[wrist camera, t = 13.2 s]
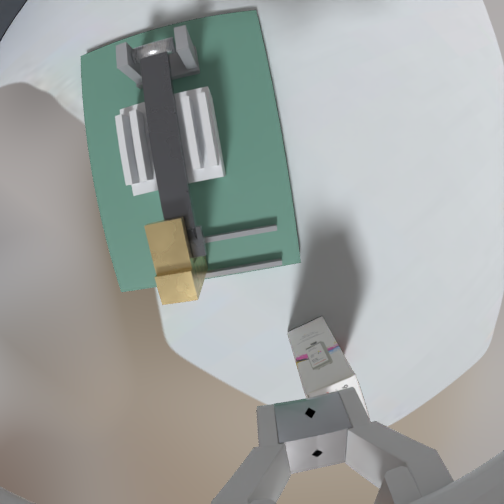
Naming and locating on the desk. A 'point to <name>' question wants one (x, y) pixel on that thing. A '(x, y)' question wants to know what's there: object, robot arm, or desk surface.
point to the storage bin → (8, 13)
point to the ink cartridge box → (321, 361)
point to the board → (193, 148)
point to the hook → (175, 261)
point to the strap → (167, 138)
